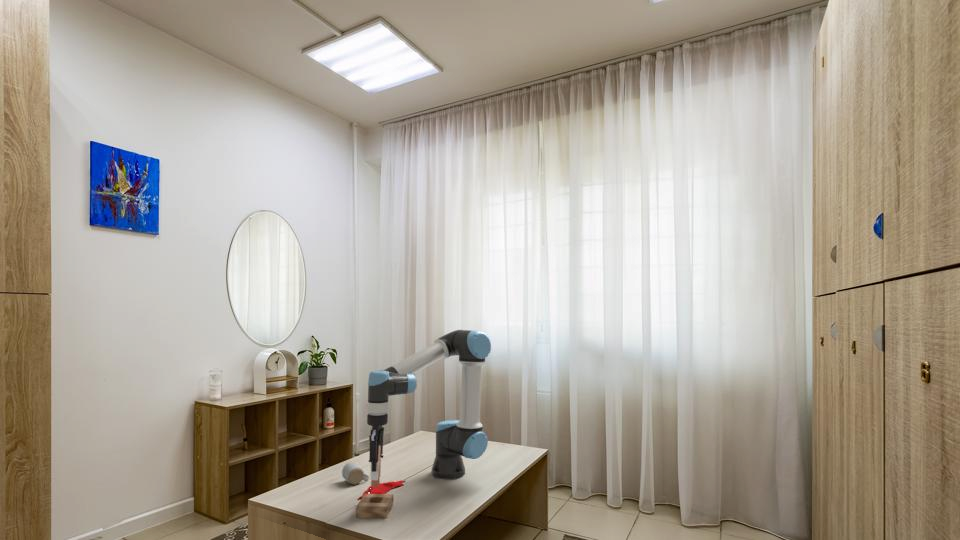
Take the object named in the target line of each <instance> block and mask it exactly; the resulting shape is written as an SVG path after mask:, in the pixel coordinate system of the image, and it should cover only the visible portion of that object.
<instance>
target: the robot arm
mask: <svg viewBox="0 0 960 540" xmlns="http://www.w3.org/2000/svg"><path fill="white" fill-rule="evenodd" d="M491 350H492V344H491V339H490V337H489V336H488V335H487V334H486V333H485V332H484V331H480V330H467V329H466V330H465V329H457V330H454V331H450V332H449V333H446V334H444V335H442V336H440V337H438V338H437V339H435V340H434V342H433V343H432V344H430V345H429V346H427V347H425V348H423V349H421V350H419V351H417V352H415V353H413V354H411V355H410V356H408V357H406V358H404V359H402V360H400V361H399V362H397V363H395V364H393V365H391V366H389V367H387V368H385V369H377V370H373V371H371V372H369V375H368V380H367V381H368V382H367V403H366V407H367V413H368V414H367V415H366V417H367V418H366V424H367V425H368V426H371V429H370V434H369V436H368V437H369V438H368V440H369V459H368V463H370V475H369V479H370V481H371V480H378V470H379V461H378V452H379V445H380V446H381V450H380V477H381V476H382V475H381V473H382V472H381V471H382V459H383V458H384V455H383V453H384V434H385V427H384V426H386V425H387V424H388V419H389V416H388V415H389V414H388V412H389V397H390V396H397V395H408V394H411V393H412V394H413V393H414V392H415V391H416V389H417V387H418V385H417V383H418V381H417V377H416V376H415V374H417V373H418V372H420V371H422V370H423V369H426V368H427V367H429V366H431V365H433V364H434V363H436V362H438V361H440V360H441V359H443V360H446V359H447V358H450V357H453V356H458V362H459V363H460V364H461V383H460V385H461V386H460V406H459V407H460V409H459V411H460V412H459V419H454V420H453V419H451V420H450V419H449V420H443V421H440V422H438V423H437V424H436V426H435V428H436V429H435V457H434V460H433V464H432V467H431V476H432V477H435V478H436V479H441V480H453V479H460V478H462V477H464V476H465V475H464V474H466V467H465V464H464V460H463V459H464V458H466V459H471V460H476V459H480V457H481V456H483V455H484V453H485V452H486V450H487V447H488V441H489V439H488V436H487V435H486V433H485V432H484V428H483V427H484V424H482V423H481V420H480V414H481V413H480V412H481V392H482V391H481V389H482V387H481V386H482V366H483V365H484V363H485V362H486V358H487V357H488V356H489V354H490V353H491ZM463 457H464V458H463ZM463 475H464V476H463Z"/></svg>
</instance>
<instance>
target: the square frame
mask: <svg viewBox="0 0 960 540" xmlns="http://www.w3.org/2000/svg"><path fill="white" fill-rule="evenodd" d="M394 498H395V497H394V494H392V493H390V494H389V493H386V494H364V496H363V497H361V498H360V499H359V502H358V503H357V505H356V510H355V512H356V513H355V514H356V515H355V518H361V519H362V518H365V519H387V518H388V517H389V515H390V512H391V511H392V509H393V507H394Z"/></svg>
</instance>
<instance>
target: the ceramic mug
mask: <svg viewBox="0 0 960 540" xmlns="http://www.w3.org/2000/svg"><path fill="white" fill-rule="evenodd" d="M341 474H342V478H344V480H346V481H347V482H348V483H349V484H350V485H352V486H353V485H354V486H355V485H358V484H361V482H362V481H367V482H368V481H369V479H370V475H368V474H366V473H365V471H364V469H363V468H362V467H361V465H359V464H358V463H357V462H356V461H349V462H347V463H346V464H345V465H344V466H343V467H342V471H341Z"/></svg>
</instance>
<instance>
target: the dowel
mask: <svg viewBox="0 0 960 540" xmlns="http://www.w3.org/2000/svg"><path fill="white" fill-rule="evenodd" d="M380 450H381V446H380V445H379V452H378V461H379V470H378V480H370V486H373V487H376V486H379V484H380V481H381V480H380V478H381V476H380Z"/></svg>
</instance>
